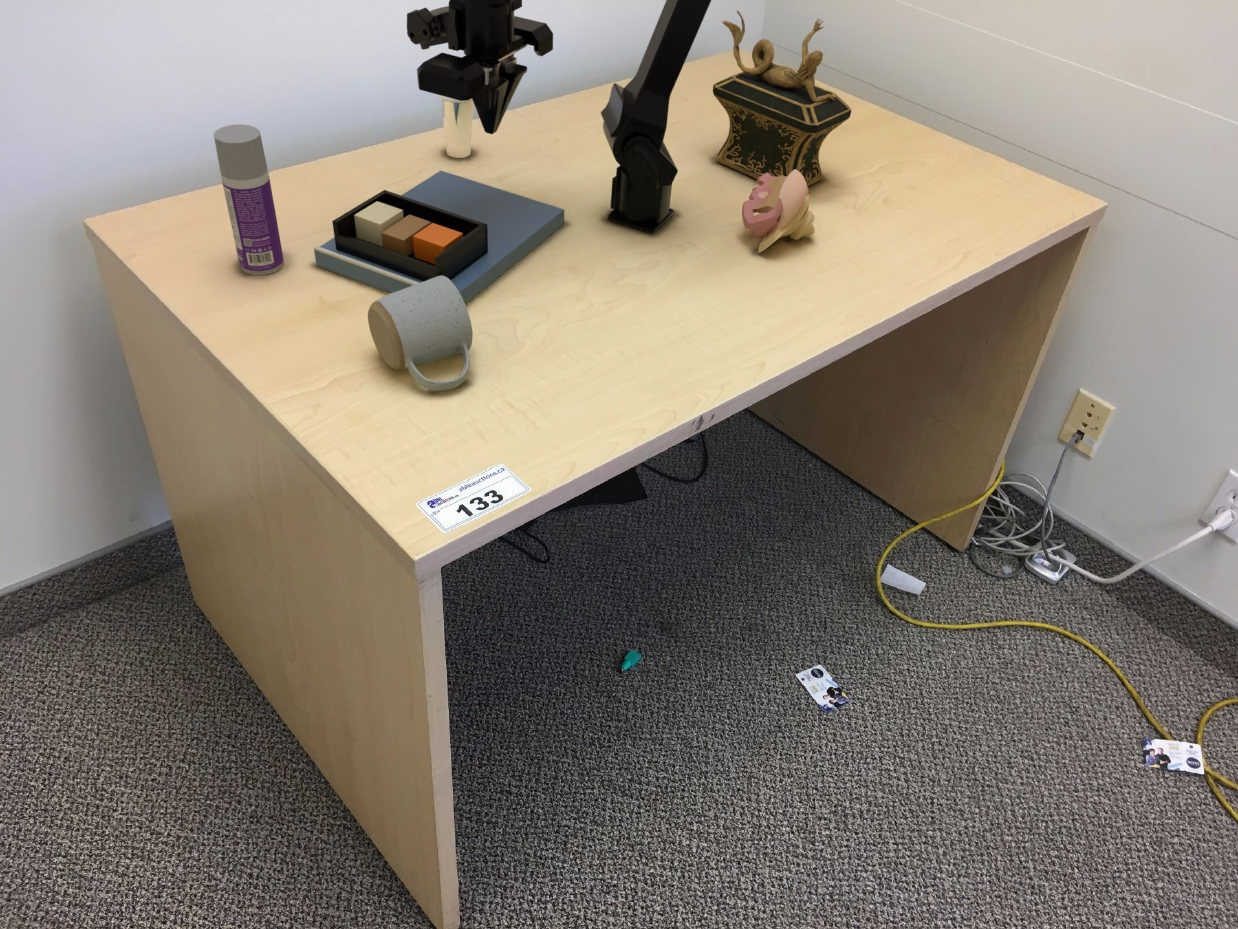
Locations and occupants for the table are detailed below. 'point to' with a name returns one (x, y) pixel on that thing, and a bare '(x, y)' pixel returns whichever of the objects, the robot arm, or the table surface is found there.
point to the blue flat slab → (505, 213)
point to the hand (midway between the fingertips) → (490, 132)
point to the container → (249, 198)
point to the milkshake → (457, 125)
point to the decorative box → (777, 112)
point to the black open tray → (410, 237)
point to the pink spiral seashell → (779, 208)
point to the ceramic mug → (422, 328)
